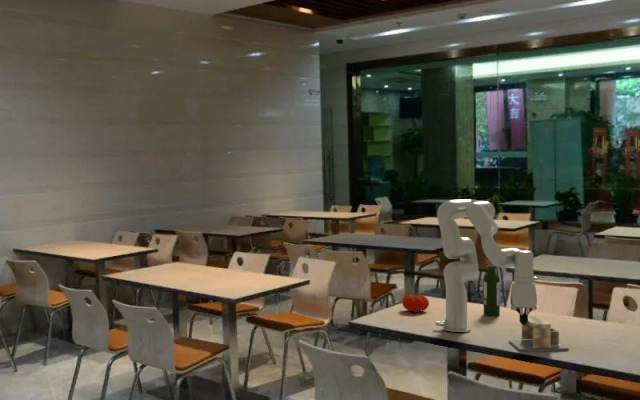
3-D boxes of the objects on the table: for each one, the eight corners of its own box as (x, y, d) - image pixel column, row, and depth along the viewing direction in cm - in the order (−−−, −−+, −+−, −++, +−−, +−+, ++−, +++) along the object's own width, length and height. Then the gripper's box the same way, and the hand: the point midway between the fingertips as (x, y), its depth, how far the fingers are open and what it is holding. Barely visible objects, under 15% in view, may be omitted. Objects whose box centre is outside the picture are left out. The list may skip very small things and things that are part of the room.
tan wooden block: (533, 348, 271) (533, 324, 271) (521, 339, 286) (521, 316, 285) (550, 347, 272) (550, 324, 271) (537, 338, 286) (537, 316, 285)
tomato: (401, 314, 341) (401, 297, 341) (402, 309, 354) (402, 292, 353) (428, 315, 339) (428, 297, 339) (429, 309, 351) (428, 293, 351)
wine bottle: (482, 312, 342) (482, 254, 340) (498, 313, 341) (498, 254, 339) (484, 316, 334) (484, 256, 333) (500, 316, 333) (500, 257, 331)
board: (520, 351, 271) (520, 342, 271) (508, 342, 286) (508, 333, 285) (568, 350, 272) (568, 341, 272) (554, 341, 286) (554, 332, 286)
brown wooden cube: (543, 345, 276) (543, 332, 275) (537, 341, 282) (537, 328, 282) (558, 344, 276) (558, 331, 276) (552, 340, 282) (552, 327, 282)
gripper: (538, 278, 281) (538, 321, 282) (503, 278, 281) (503, 322, 281) (544, 281, 273) (544, 325, 274) (508, 282, 273) (508, 326, 274)
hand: (523, 323), depth 278 cm, fingers closed
